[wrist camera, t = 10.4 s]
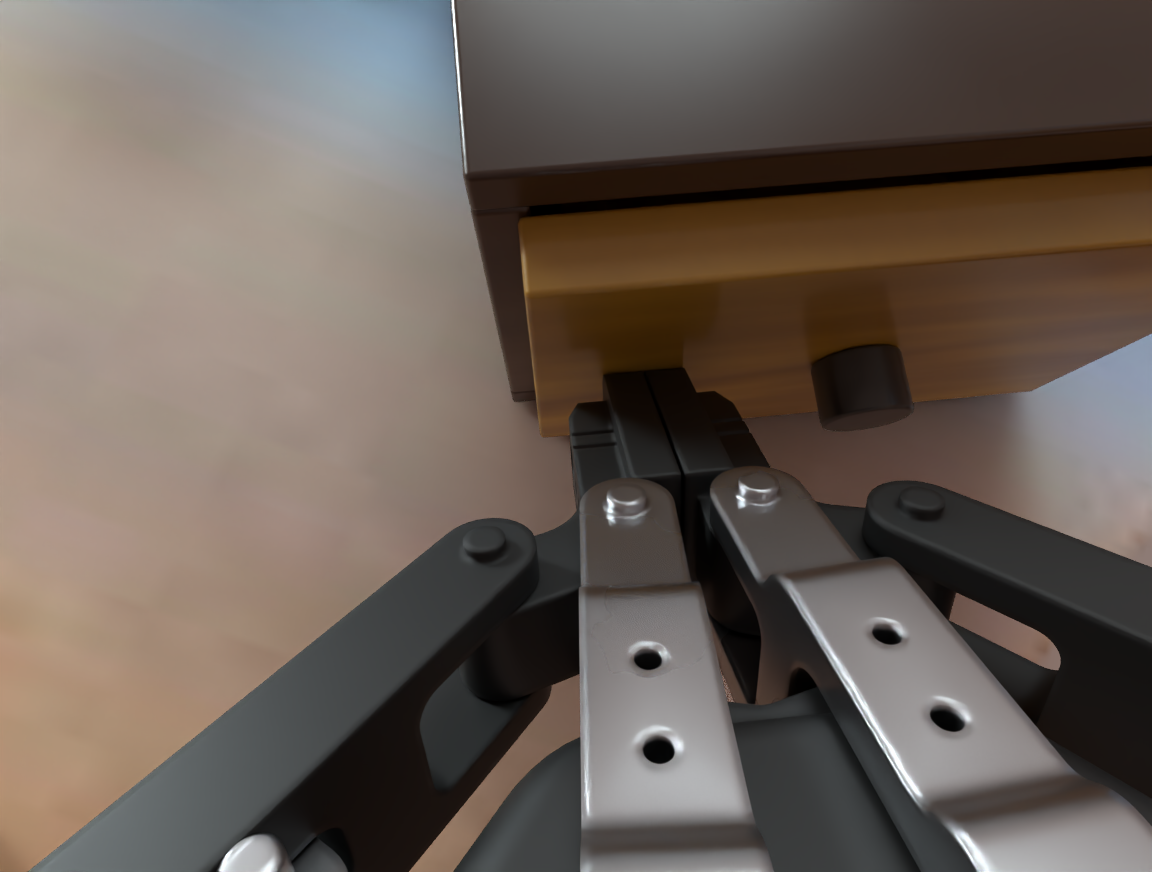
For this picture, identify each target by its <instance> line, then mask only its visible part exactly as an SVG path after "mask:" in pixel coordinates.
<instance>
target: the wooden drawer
mask: <svg viewBox="0 0 1152 872" xmlns="http://www.w3.org/2000/svg"><path fill="white" fill-rule="evenodd" d="M547 211H548V215H540V216H528V217H522V218H520V220H519V222H518V233H519V243H520V254H521V265H522V275H523V286H524V296H525V305H526V314H527V323H528V332H529V340H530V349H531V358H532V367H533V376H534V384H535V393H536V402H537V411H538V420H539V429H540V435H541V436H542V437H554V436H565V435H570V432H569V416H570V415H571V413H572V411H573V410H574V408H575V407H576V405H577V404H578V403H584V402H595V401H603V387H602V379H603V375H607V374H618V373H630V372H641V371H642V372H643V374H644V371H651V370H663V369H674V368H685V370H686V372H687V374H688V376H689V378H690V380H691V382H692V384H693V386H694V388H695V390H696V392H706V391H716V392H717V393H719V394H720V395H722V396H723V397H725V398H726V399H728V400H730V401H731V402H733V403H734V405H735V407H736V408H737V410H738V412H739V414H740V415H741V417H742V419H743V418H754V417H764V416H775V415H785V414H796V413H806V412H817V411H818V413H819V418H820V423H821V426H822V427H823V429H825V430H830V431H854V430H862V429H868V428H873V427H878V426H882V425H886V424H890V423H893V422H896V421H899V420H901V419H903V418H905V417H907V416H909V415H910V414H912V413H913V410H914V405H913V402H922V401H933V400H943V399H954V398H964V397H975V396H985V395H996V394H1006V393H1017V392H1027V391H1032V390H1034V389H1036V388H1038V387H1040V386H1043V385H1045V384H1047V383H1049V382H1051V381H1053V380H1055V379H1057V378H1059V377H1061V376H1064V375H1066V374H1068V373H1070V372H1072V371H1074V370H1076V369H1078V368H1080V367H1083V366H1085V365H1087V364H1089V363H1091V362H1093V361H1095V360H1097V359H1099V358H1101V357H1104V356H1106V355H1108V354H1110V353H1112V352H1114V351H1116V350H1118V349H1120V348H1122V347H1125V346H1127V345H1129V344H1131V343H1133V342H1135V341H1137V340H1139V339H1141V338H1143V337H1146V336H1148V335H1150V334H1152V156H1146V157H1134V158H1121V159H1109V160H1097V161H1084V162H1072V163H1060V164H1047V165H1035V166H1022V167H1010V168H998V169H985V170H973V171H961V172H948V173H936V174H923V175H911V176H899V177H886V178H874V179H862V180H849V181H837V182H824V183H812V184H800V185H787V186H775V187H763V188H750V189H738V190H725V191H713V192H701V193H688V194H676V195H664V196H651V197H639V198H626V199H614V200H602V201H589V202H577V203H565V204H552V205H547Z"/></svg>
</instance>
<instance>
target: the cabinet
mask: <svg viewBox="0 0 1152 872" xmlns="http://www.w3.org/2000/svg"><path fill="white" fill-rule="evenodd" d="M450 3H451V16H452V29H453V43H454V56H455V70H456V83H457V96H458V110H459V123H460V136H461V150H462V163H463V176H464V181H465V186H466V190H467V195H468V199H469V204H470V206H471V213H472V217H473V222H474V226H475V231H476V235H477V240H478V244H479V249H480V253H481V258H482V262H483V267H484V271H485V276H486V280H487V285H488V289H489V294H490V298H491V303H492V307H493V312H494V316H495V321H496V326H497V330H498V335H499V339H500V344H501V348H502V353H503V357H504V362H505V366H506V371H507V375H508V380H509V384H510V389H511V394H512V398H513V401H514V402H521V401H532V400H536V393H535V384H534V376H533V367H532V358H531V349H530V340H529V332H528V323H527V314H526V305H525V296H524V286H523V275H522V265H521V254H520V243H519V233H518V222H519V220H520V218H522V217H528V216H540V215H548V211H547V205H552V204H565V203H577V202H589V201H602V200H614V199H626V198H639V197H651V196H664V195H676V194H688V193H701V192H713V191H725V190H738V189H750V188H763V187H775V186H787V185H800V184H812V183H824V182H837V181H849V180H862V179H874V178H886V177H899V176H911V175H923V174H936V173H948V172H961V171H973V170H985V169H998V168H1010V167H1022V166H1035V165H1047V164H1060V163H1072V162H1084V161H1097V160H1109V159H1121V158H1134V157H1146V156H1152V0H450Z"/></svg>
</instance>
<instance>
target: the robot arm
mask: <svg viewBox="0 0 1152 872" xmlns="http://www.w3.org/2000/svg"><path fill="white" fill-rule="evenodd" d="M602 387H603V401H595V402H584V403H578V404H577V405H576V407H575V408H574V410H573V411H572V413H571V415H570V416H569V432H570V446H571V460H572V474H573V487H574V494H575V502H576V509H577V511H576V513H575V514H574V515H573V516H572V517H571V518H570V519H569V520H568V521H567V522H565V523H564V524H563V525H561V526H559V527H557V528H555V529H553V530H551V531H548V532H545V533H542V534H539V535H536V536H534V535H533V533H532V532H531V531H530V530H529V529H528V528H527V527H525V526H524V525H522V524H520V523H518V522H516V521H512V520H508V519H502V518H487V519H480V520H475V521H472V522H468V523H466V524H463V525H461V526H459V527H457V528H455V529H453V530H452V531H451V532H449V533H448V534H447V535H445V536H444V537H443V538H442V539H440V540H439V541H438V542H437V543H435V544H434V545H433V546H432V547H430V548H429V549H428V550H427V551H425V552H424V553H423V554H422V555H420V556H419V557H418V558H417V559H415V560H414V561H413V562H412V563H411V564H409V565H408V566H407V567H406V568H404V569H403V570H402V571H401V572H399V573H398V574H397V575H396V576H394V577H393V578H392V579H391V580H389V581H388V582H387V583H386V584H384V585H383V586H382V587H381V588H379V589H378V590H377V591H376V592H375V593H373V594H372V595H371V596H370V597H368V598H367V599H366V600H365V601H363V602H362V603H361V604H360V605H358V606H357V607H356V608H355V609H353V610H352V611H351V612H350V613H348V614H347V615H346V616H345V617H343V618H342V619H341V620H340V621H339V622H337V623H336V624H335V625H334V626H332V627H331V628H330V629H329V630H327V631H326V632H325V633H324V634H322V635H321V636H320V637H319V638H317V639H316V640H315V641H314V642H312V643H311V644H310V645H309V646H307V647H306V648H305V649H304V650H303V651H301V652H300V653H299V654H298V655H296V656H295V657H294V658H293V659H291V660H290V661H289V662H288V663H286V664H285V665H284V666H283V667H281V668H280V669H279V670H278V671H276V672H275V673H274V674H273V675H271V676H270V677H269V678H268V679H267V680H265V681H264V682H263V683H262V684H260V685H259V686H258V687H257V688H255V689H254V690H253V691H252V692H250V693H249V694H248V695H247V696H245V697H244V698H243V699H242V700H240V701H239V702H238V703H237V704H236V705H234V706H233V707H232V708H231V709H229V710H228V711H227V712H226V713H224V714H223V715H222V716H221V717H219V718H218V719H217V720H216V721H214V722H213V723H212V724H211V725H209V726H208V727H207V728H206V729H204V730H203V731H202V732H201V733H200V734H198V735H197V736H196V737H195V738H193V739H192V740H191V741H190V742H188V743H187V744H186V745H185V746H183V747H182V748H181V749H180V750H178V751H177V752H176V753H175V754H173V755H172V756H171V757H170V758H168V759H167V760H166V761H165V762H164V763H162V764H161V765H160V766H159V767H157V768H156V769H155V770H154V771H152V772H151V773H150V774H149V775H147V776H146V777H145V778H144V779H142V780H141V781H140V782H139V783H137V784H136V785H135V786H134V787H132V788H131V789H130V790H129V791H128V792H126V793H125V794H124V795H123V796H121V797H120V798H119V799H118V800H116V801H115V802H114V803H113V804H111V805H110V806H109V807H108V808H106V809H105V810H104V811H103V812H101V813H100V814H99V815H98V816H96V817H95V818H94V819H93V820H92V821H90V822H89V823H88V824H87V825H85V826H84V827H83V828H82V829H80V830H79V831H78V832H77V833H75V834H74V835H73V836H72V837H70V838H69V839H68V840H67V841H65V842H64V843H63V844H62V845H60V846H59V847H58V848H57V849H56V850H54V851H53V852H52V853H51V854H49V855H48V856H47V857H46V858H44V859H43V860H42V861H41V862H39V863H38V864H37V865H36V866H34V867H33V868H32V869H31V870H29V871H28V872H409V871H410V870H411V868H412V867H413V866H414V865H415V863H416V862H417V861H418V860H419V859H420V857H421V856H422V855H423V854H424V852H425V851H426V850H427V849H428V847H429V846H430V845H431V844H432V843H433V841H434V840H435V839H436V838H437V836H438V835H439V834H440V833H441V832H442V830H443V829H444V828H445V827H446V825H447V824H448V823H449V822H450V821H451V819H452V818H453V817H454V816H455V814H456V813H457V812H458V811H459V810H460V808H461V807H462V806H463V805H464V803H465V802H466V801H467V800H468V799H469V797H470V796H471V795H472V794H473V792H474V791H475V790H476V789H477V788H478V786H479V785H480V784H481V783H482V781H483V780H484V779H485V778H486V777H487V775H488V774H489V773H490V772H491V770H492V769H493V768H494V767H495V766H496V764H497V763H498V762H499V761H500V759H501V758H502V757H503V756H504V755H505V753H506V752H507V751H508V750H509V748H510V747H511V746H512V745H513V744H514V742H515V741H516V740H517V739H518V737H519V736H520V735H521V734H522V733H523V731H524V730H525V729H526V728H527V726H528V725H529V724H530V723H531V722H532V720H533V719H534V718H535V717H536V715H537V714H538V713H539V712H540V711H541V709H542V708H543V707H544V705H545V704H546V702H547V701H548V699H549V696H550V693H551V685H553V684H556V683H558V682H561V681H563V680H566V679H568V678H571V677H573V676H576V675H578V674H580V737H579V738H577V739H575V740H573V741H571V742H569V743H567V744H565V745H563V746H562V747H560V748H559V749H557V750H556V751H554V752H553V753H551V754H549V755H548V756H547V757H546V758H544V759H543V760H542V761H541V762H540V763H538V764H537V765H536V766H535V767H534V768H533V769H531V770H530V771H529V772H528V773H527V774H526V776H525V777H524V778H523V779H522V780H521V781H520V782H519V783H518V784H517V785H516V786H515V787H514V789H513V790H512V791H511V793H510V794H509V795H508V796H507V798H506V799H505V801H504V802H503V803H502V805H501V806H500V807H499V809H498V810H497V812H496V813H495V814H494V816H493V817H492V819H491V820H490V821H489V823H488V824H487V826H486V827H485V828H484V830H483V831H482V833H481V834H480V835H479V837H478V838H477V840H476V841H475V842H474V844H473V845H472V846H471V848H470V849H469V851H468V852H467V853H466V855H465V856H464V858H463V859H462V860H461V862H460V863H459V865H458V866H457V867H456V869H455V870H454V872H1152V567H1149V566H1147V565H1144V564H1141V563H1139V562H1136V561H1134V560H1131V559H1128V558H1126V557H1123V556H1120V555H1118V554H1115V553H1113V552H1110V551H1107V550H1105V549H1102V548H1100V547H1097V546H1094V545H1092V544H1089V543H1086V542H1084V541H1081V540H1079V539H1076V538H1073V537H1071V536H1068V535H1065V534H1063V533H1060V532H1058V531H1055V530H1052V529H1050V528H1047V527H1045V526H1042V525H1039V524H1037V523H1034V522H1031V521H1029V520H1026V519H1024V518H1021V517H1018V516H1016V515H1013V514H1011V513H1008V512H1005V511H1003V510H1000V509H997V508H995V507H992V506H990V505H987V504H984V503H982V502H979V501H977V500H974V499H971V498H969V497H966V496H963V495H961V494H958V493H956V492H953V491H950V490H948V489H945V488H942V487H939V486H936V485H933V484H929V483H925V482H918V481H893V482H888V483H884V484H882V485H879V486H877V487H876V488H874V489H873V490H872V491H871V492H870V493H869V496H868V498H867V504H866V508H859V507H849V506H840V505H831V504H824V503H820V502H815V500H814V499H813V498H812V497H811V495H810V494H809V493H808V491H807V490H806V489H805V487H804V486H803V485H802V484H801V483H800V482H799V481H798V480H797V479H796V478H794V477H793V476H791V475H789V474H787V473H785V472H782V471H780V470H776V469H773V468H771V467H770V465H769V464H768V462H767V460H766V459H765V457H764V455H763V453H762V452H761V450H760V448H759V446H758V445H757V443H756V441H755V440H754V438H753V436H752V434H751V433H749V429H748V427H747V426H746V424H745V422H744V421H742V417H741V415H740V414H739V412H738V410H737V408H736V407H735V405H734V403H733V402H731V401H730V400H728V399H726V398H725V397H723V396H722V395H720V394H719V393H717V392H716V391H706V392H696V390H695V388H694V386H693V384H692V382H691V380H690V378H689V376H688V374H687V372H686V370H685V368H674V369H663V370H651V371H644V374H643V372H642V371H641V372H630V373H618V374H607V375H603V379H602ZM956 592H957V593H959V594H961V595H963V596H965V597H968V598H970V599H972V600H974V601H976V602H978V603H980V604H982V605H985V606H987V607H989V608H991V609H993V610H995V611H997V612H999V613H1002V614H1004V615H1006V616H1008V617H1010V618H1012V619H1014V620H1016V621H1019V622H1021V623H1023V624H1025V625H1027V626H1029V627H1031V628H1033V629H1035V630H1037V631H1039V632H1041V633H1042V634H1044V635H1045V636H1046V637H1048V638H1049V639H1050V640H1051V641H1052V642H1053V644H1054V645H1055V646H1056V648H1057V649H1058V651H1059V654H1060V657H1061V665H1060V668H1059V670H1050V669H1047V668H1044V667H1042V666H1039V665H1037V664H1035V663H1033V662H1031V661H1029V660H1027V659H1025V658H1023V657H1021V656H1019V655H1017V654H1015V653H1013V652H1011V651H1009V650H1007V649H1005V648H1003V647H1001V646H999V645H997V644H995V643H993V642H991V641H989V640H987V639H985V638H983V637H981V636H979V635H977V634H975V633H973V632H971V631H969V630H967V629H965V628H963V627H961V626H959V625H957V624H955V623H953V622H951V621H949V617H950V613H951V609H952V606H953V602H954V598H955V595H956ZM720 669H721V671H722V674H723V676H724V678H725V681H726V683H727V685H728V688H729V690H730V692H731V695H732V697H733V700H734V702H735V703H734V702H727V697H726V693H725V689H724V684H723V680H722V675H721V671H720Z"/></svg>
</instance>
